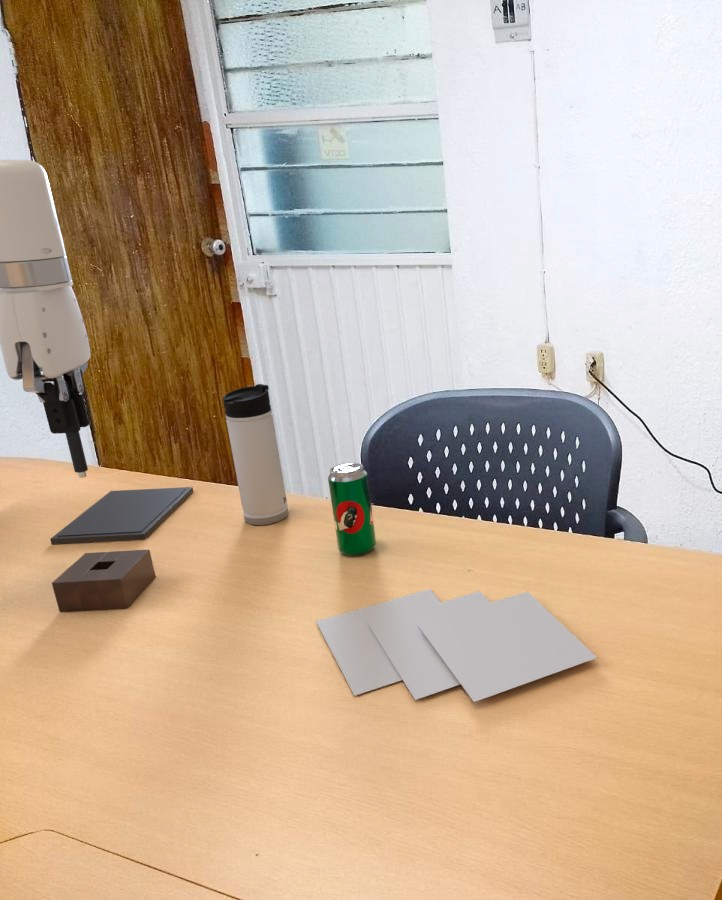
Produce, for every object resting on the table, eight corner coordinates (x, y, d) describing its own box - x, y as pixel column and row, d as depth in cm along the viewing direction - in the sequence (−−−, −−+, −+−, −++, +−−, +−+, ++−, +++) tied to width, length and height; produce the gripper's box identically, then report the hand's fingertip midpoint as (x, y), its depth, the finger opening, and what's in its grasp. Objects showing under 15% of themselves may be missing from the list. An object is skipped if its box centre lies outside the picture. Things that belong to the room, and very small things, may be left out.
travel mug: (299, 512, 127) (279, 386, 120) (263, 529, 121) (240, 397, 115) (272, 505, 130) (251, 381, 123) (235, 520, 124) (211, 392, 118)
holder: (59, 612, 100) (51, 582, 99) (92, 580, 108) (85, 552, 106) (127, 608, 101) (120, 579, 99) (155, 576, 108) (149, 549, 107)
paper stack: (378, 743, 76) (377, 736, 76) (315, 621, 96) (315, 616, 96) (597, 663, 87) (597, 657, 87) (499, 569, 107) (499, 564, 107)
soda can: (383, 548, 114) (373, 467, 110) (350, 561, 111) (338, 478, 107) (365, 537, 118) (354, 458, 114) (332, 549, 114) (320, 468, 110)
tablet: (51, 544, 118) (49, 538, 118) (111, 495, 135) (110, 490, 135) (145, 539, 119) (143, 533, 119) (193, 491, 136) (192, 486, 136)
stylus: (74, 479, 101) (50, 384, 97) (79, 475, 102) (57, 381, 98) (86, 478, 101) (63, 383, 97) (91, 474, 103) (69, 380, 99)
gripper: (36, 267, 101) (72, 412, 107) (-49, 286, 86) (-1, 453, 92) (99, 265, 101) (132, 409, 107) (26, 283, 87) (69, 449, 93)
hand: (70, 428), depth 100 cm, fingers closed on stylus, 1 cm apart
